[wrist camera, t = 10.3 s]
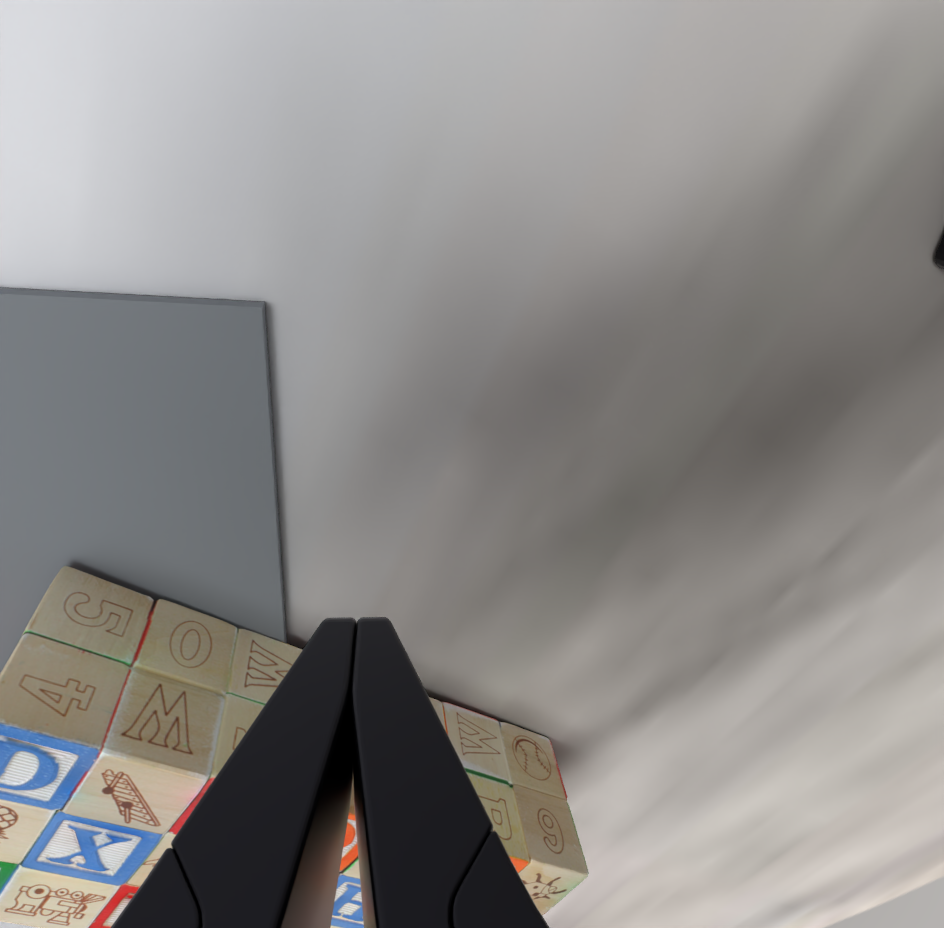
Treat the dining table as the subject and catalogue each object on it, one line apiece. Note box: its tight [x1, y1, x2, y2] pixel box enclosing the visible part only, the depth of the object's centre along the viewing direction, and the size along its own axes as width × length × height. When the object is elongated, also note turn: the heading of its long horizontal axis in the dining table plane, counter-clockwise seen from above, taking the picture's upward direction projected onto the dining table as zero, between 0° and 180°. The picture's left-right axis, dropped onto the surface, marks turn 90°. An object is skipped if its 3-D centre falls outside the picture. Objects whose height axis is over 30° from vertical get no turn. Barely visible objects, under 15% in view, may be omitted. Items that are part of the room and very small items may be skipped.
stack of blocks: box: [0, 566, 589, 928], centre depth 26 cm, size 21×6×12 cm
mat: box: [0, 288, 287, 673], centre depth 24 cm, size 12×23×1 cm, turn 175°
